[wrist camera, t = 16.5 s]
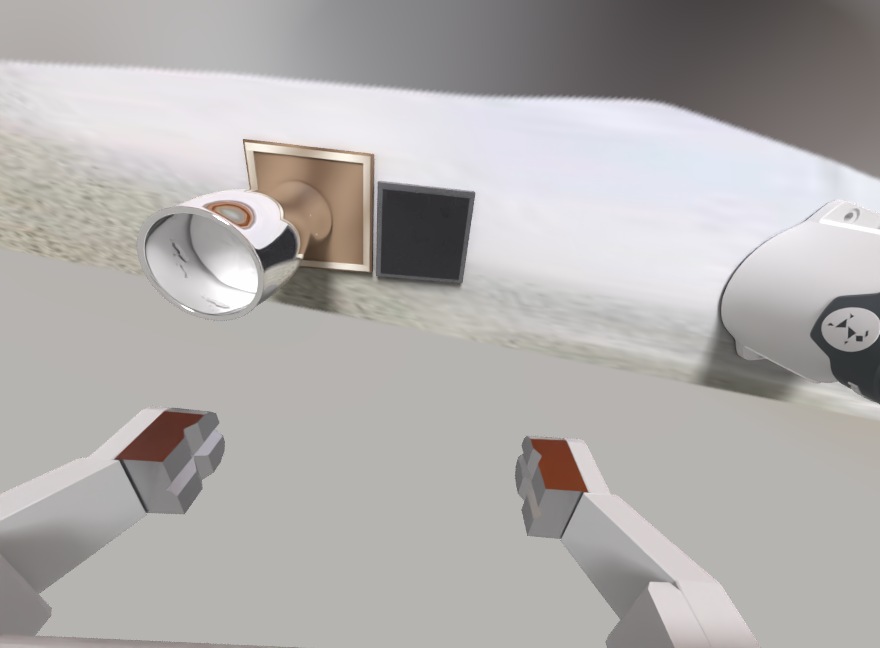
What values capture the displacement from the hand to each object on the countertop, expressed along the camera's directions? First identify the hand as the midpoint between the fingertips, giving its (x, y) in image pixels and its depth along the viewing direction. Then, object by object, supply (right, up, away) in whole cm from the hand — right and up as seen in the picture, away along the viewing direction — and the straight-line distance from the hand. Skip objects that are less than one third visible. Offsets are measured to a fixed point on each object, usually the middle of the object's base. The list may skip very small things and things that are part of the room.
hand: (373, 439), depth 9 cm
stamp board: (-10, +14, +23) cm, 29 cm away
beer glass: (-12, +13, +23) cm, 29 cm away
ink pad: (0, +12, +25) cm, 28 cm away
